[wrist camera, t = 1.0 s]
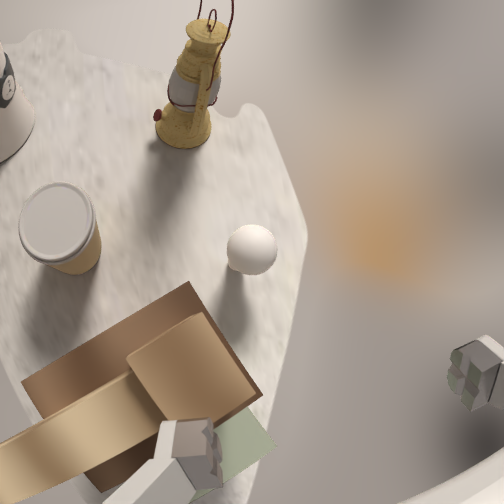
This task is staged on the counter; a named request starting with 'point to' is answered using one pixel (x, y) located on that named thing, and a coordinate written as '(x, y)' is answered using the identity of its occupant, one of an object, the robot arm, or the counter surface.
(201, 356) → the beech mallet
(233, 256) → the lightbulb
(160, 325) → the walnut shelf
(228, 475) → the sage step
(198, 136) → the lantern
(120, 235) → the counter surface
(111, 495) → the robot arm
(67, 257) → the coffee cup
